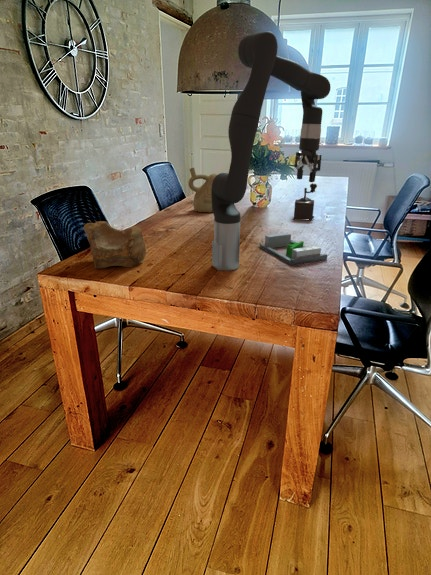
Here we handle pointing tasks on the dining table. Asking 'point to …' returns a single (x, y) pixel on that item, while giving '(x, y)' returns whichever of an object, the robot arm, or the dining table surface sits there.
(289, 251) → the pipe clamp
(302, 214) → the manual coffee grinder
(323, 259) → the vise
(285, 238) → the block
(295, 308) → the dining table surface
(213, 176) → the ceramic vessel
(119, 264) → the rough brown rock
